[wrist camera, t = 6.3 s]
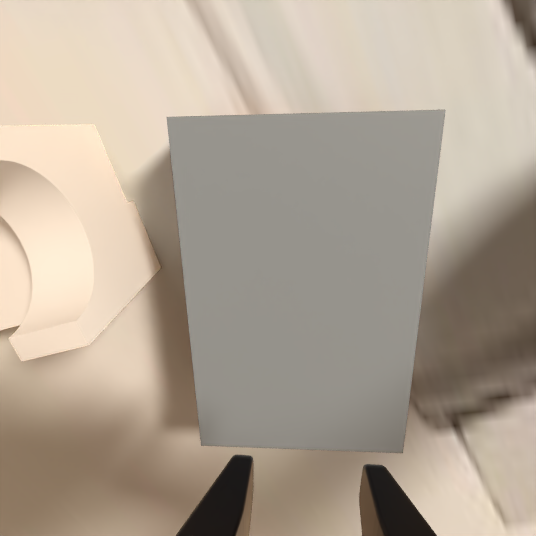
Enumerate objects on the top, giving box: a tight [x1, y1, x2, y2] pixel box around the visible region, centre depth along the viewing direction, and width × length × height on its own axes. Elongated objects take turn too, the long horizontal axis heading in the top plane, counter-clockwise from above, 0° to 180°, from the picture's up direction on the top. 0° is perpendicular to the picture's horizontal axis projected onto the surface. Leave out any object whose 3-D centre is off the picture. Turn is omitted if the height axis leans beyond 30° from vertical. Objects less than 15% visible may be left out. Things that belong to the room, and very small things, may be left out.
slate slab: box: [167, 110, 445, 453], centre depth 16 cm, size 9×14×2 cm, turn 1°
